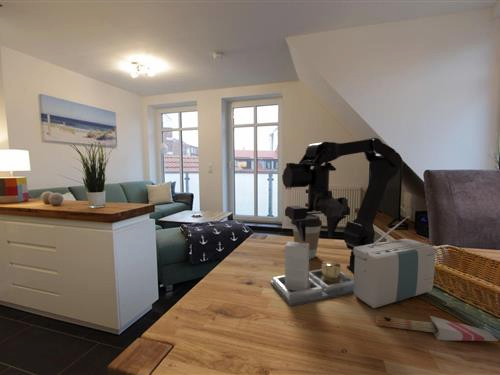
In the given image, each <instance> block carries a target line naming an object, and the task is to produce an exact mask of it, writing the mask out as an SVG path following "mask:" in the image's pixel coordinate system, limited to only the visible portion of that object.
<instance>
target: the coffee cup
mask: <svg viewBox="0 0 500 375" xmlns="http://www.w3.org/2000/svg"><path fill="white" fill-rule="evenodd" d="M305 219H307V220H308V221H307V223H306V237H305V242H303V241H302V240H301V237H300V235H299V232H298V230H297V227H296V225H295V224H294V222H293V220H292V219H290V220H291V221H290V224H291V226H292V233H293V242H299V243H309V260H312V259H311V258H313V259H315V258H316V255H317V252H318V246H319V245H318V244H319V238H320V233H321V228H322V227H321V226H323V221H322V220H321V219H320V216H319V215H318V214H310V215H307V217H306V218H305ZM314 257H315V258H314Z"/></svg>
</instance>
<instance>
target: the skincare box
mask: <svg viewBox="0 0 500 375" xmlns="http://www.w3.org/2000/svg"><path fill="white" fill-rule="evenodd" d="M309 271H310V259H309V243H299V242H294V241H287V242H286V244H285V245H284V275H285V287H286V288H287V289H288V290H294V291H301V290H306V289H308V287H309Z"/></svg>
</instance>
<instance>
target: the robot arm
mask: <svg viewBox="0 0 500 375" xmlns="http://www.w3.org/2000/svg"><path fill="white" fill-rule="evenodd" d="M359 153H364V156H365V159H366V161H367V162H368V163H370V165H369V172H370V177H371V178H370V180H369V183H368V186H367V188H366V191H365V193H364V196H363V199H362V202H361V203H360V207H359V210H358V212H357V214H356V215H357V216H356V218H355V219H354V220H352V221H347V222H346V224H345V228H344V230H343V231H342V233H343V235H342V236H343V240H344V243H345V246H346V248H347V249H349V250H351V251H350V256H349V265H346V268H347V269H349V271H351V272H353V273H354V266H355V255H354V252H353V249H354V247H357V246H363V245H369V244H373V243H375V242H376V241H374V240H375V236H376V233H375V229H374V227H375V226H374V222H375V219H376V216H377V214H378V211H379V208H380V205H381V202H382V199H383V197H384V195H385V192H386V189H387V186H388V184H389V182H390V181H391V180H392V179H394V177H396V175H397V174H398V173H399V170H400V168H401V167H402V165H403V158H402V156H401V155H400V153H398V152H397V151H396V149H394V148H393V147H392V146H389V145H387V144H385V143H384V142H383V141H382V140H381V139H379V138H377V137H370V138H369V137H368V138H364V139H360V140H353V141H347V142H333V141H320V142H316V143H311V144H309V145H307V148H306V150H305V153H304V155H303V156H302V158H301V159H300V160H299V162H298V163H294V162H286V163H285V164H286V165H285V166H286V167H285V168H284V169H283V172H282V173H283V174H282V176H281V178H282V184H283V186H284V187H285V188H286V189H291V188H295V189H296V188H307V187H308V188H307V189H305V194H307V202H306V203H305V205H304V206H305V207H303V206H301V205H288V206H286V207H285V209H284V216H285V217H288V219H290V220H291V219H292V220H293V222H294V224H295V225H296V227H297V230H298V232H299V235H300V237H301V240H302V241H303V242H305V237H306V223H307V221H308V220H307V219H305V218H306V217H307V215H310V214H313V215H318V214H319V215H320V214H323V216H325V217H326V225H327V226H326V228H327V236H328V238H329V239H332V238H333V237H334V233H336V229H337V227H338V225H339V223H340V222H341V221H342V220H344V219H346V218H347V216H351V208H350V207H349V199H347V198H346V197H338V198H334V197H333V192H332V191H333V190H332V191H331V190H329V189H330V172H331V171H332V172H336V171H337V168H336V167H335V166H334V165H332V163H331V162H333V161H335V160H337V159H338V158H340V157H343V156H348V155H353V154H359ZM311 167H312V168H311Z"/></svg>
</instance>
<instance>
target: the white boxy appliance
mask: <svg viewBox="0 0 500 375" xmlns="http://www.w3.org/2000/svg"><path fill="white" fill-rule="evenodd" d="M410 217H411V216H410V215H407V216H406V218H404V219H403V220H401V221H400V222H398V223H397V224H396V225H395V226H393V227H392V228H390V229H389V230H388V231H387V232H386V233H385V234H383V235H382V236H381V237H379V238H378V239H377V240H376V241H374V242H375V243H373V244H369V245H363V246H357V247H354V249H353V250H352V251H353V252H354V255H355V266H354V272H353V273H354V274H353V279H354V293H353V294H354V295H355V296H356V297H357V298H359V300H361V301H362V302H363V303H365V304H367V305H368V306H370V307H371V308H372V309H376V308H379V307H383V306H387V305H389V304H393V303H396V302H400V301H403V300H406V299H409V298H412V297H416V296H419V295H422V294H426V293H429V292H431V291H432V289H433V286H434V278H435V266H436V249H435V247H434V246H433V245H430V244H428V243H424V242H420V241H418V240H413V239H410V238H400V239H394V240H389V241H388V240H387V241H382V240H383V239H384V238H386V237H387V235H389V234H390V233H391V232H393V231H394V230H395V229H396V228H398V227H399V225H401V224H402V223H403V222H405V220H406V219H408V218H410ZM380 241H382V242H380Z"/></svg>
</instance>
